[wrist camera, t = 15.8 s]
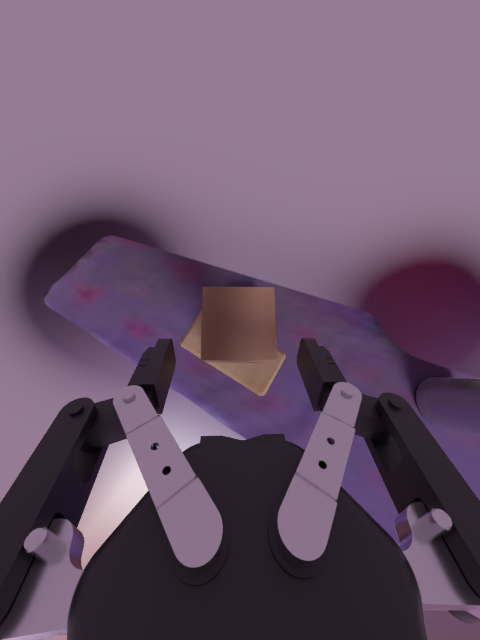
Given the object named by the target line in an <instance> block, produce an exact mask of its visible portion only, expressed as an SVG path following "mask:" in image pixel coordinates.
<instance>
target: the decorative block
mask: <svg viewBox="0 0 480 640" xmlns="http://www.w3.org/2000/svg"><path fill="white" fill-rule="evenodd" d="M201 328H202V310H201V311H200V313H199V314H198V316H197V317H196V319H195V320H194V322H193V323H192V325H191V326H190V328H189V329H188V331H187V332H186V333H185V335H184V336H183V338H182V339H181V341H180V344H181V346H182V347H183V348H185V349H186V350H188V351H190V352H191V353H193V354H194V355H196V356H197V357H199V358H201ZM285 358H286V356H285V353H284V352H283V351H281V350H280V349H278V348H277V359H276V360H271V361H266V362H261V363H216V364H212V363H209V362H207V363H208V364H210V365H212V366H213V367H215V368H216V369H218V370H220V371H221V372H223V373H224V374H226V375H227V376H229V377H231V378H232V379H234V380H235V381H237V382H238V383H240V384H242V385H243V386H245V387H246V388H248V389H249V390H251V391H253V392H254V393H256V394H257V395H259V396H263V395H265V394H266V392H267V390H268V388H269V386H270V385H271V383H272V381H273V379H274V377H275V376H276V374H277V372H278V370H279V368H280V367H281V365H282V363H283V361H284V359H285ZM205 362H206V361H205Z"/></svg>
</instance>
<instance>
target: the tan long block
mask: <svg viewBox="0 0 480 640" xmlns="http://www.w3.org/2000/svg"><path fill="white" fill-rule="evenodd" d="M276 359H277V339H276V317H275V295H274V287H203V292H202V328H201V360H203V361H206V362H209V363H212V364H216V363H261V362H266V361H271V360H276Z"/></svg>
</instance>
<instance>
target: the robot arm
mask: <svg viewBox="0 0 480 640" xmlns="http://www.w3.org/2000/svg"><path fill="white" fill-rule="evenodd" d="M175 363H176V359H175V352H174V347H173V341H172V339H158V341H157V343H156V346H155V347H149V348H148V349H147V350H146V351H145V352H144V353H143V355H142V357H141V359H140V361H139V363H138V366H137V367H136V369H135V372H134V374H133V375H132V377H131V379H130V382H129V384H128V386H127V387H125V388H123V389H121V390H120V391H118V392H117V393H116V395H115V396H114V398H112V399H109V400H105V401H101V402H97V403H94V402H93V401H92V400H91V399H90V398H79V399H76V400H73V401H72V402H70V403H68V404H67V405H65V406H64V407H63V408H62V409H61V411H60V412H59V414H58V415H57V417H56V418H55V420H54V421H53V423H52V424H51V426H50V428H49V429H48V431H47V432H46V434H45V435H44V437H43V438H42V440H41V441H40V443H39V444H38V446H37V447H36V449H35V451H34V452H33V454H32V455H31V457H30V458H29V460H28V461H27V463H26V464H25V466H24V468H23V469H22V471H21V472H20V474H19V475H18V477H17V478H16V480H15V482H14V483H13V485H12V486H11V488H10V489H9V491H8V492H7V494H6V495H5V497H4V498H3V500H2V501H1V503H0V640H38V639H44V638H50V637H56V636H62V635H67V640H427V636H426V630H425V625H424V617H423V609H424V610H448V611H449V612H450V613H451V614H452V615H453V616H455V617H456V618H457V619H459V620H460V621H463V622H465V623H469V624H473V623H479V622H480V501H479V499H478V498H477V497H476V495H475V494H474V493H473V491H472V490H471V488H470V487H469V486H468V484H467V483H466V482H465V480H464V479H463V477H462V476H461V475H460V473H459V472H458V471H457V469H456V468H455V466H454V465H453V464H452V462H451V461H450V460H449V458H448V457H447V455H446V454H445V453H444V451H443V450H442V449H441V447H440V446H439V445H438V443H437V442H436V440H435V439H434V438H433V436H432V435H431V434H430V432H429V431H428V429H427V428H426V427H425V425H424V424H423V423H422V421H421V420H420V418H419V417H418V416H417V414H416V413H415V412H414V410H413V409H412V407H411V406H410V405H409V403H408V402H407V401H406V400H404V399H403V398H402V397H400V396H398V395H396V394H393V393H383V394H381V395H380V397H379V398H375V397H371V396H367V395H363V394H361V393H360V391H359V390H358V389H357V388H356V387H355V386H353V385H351V384H349V383H347V382H346V380H345V378H344V376H343V375H342V373H341V371H340V370H339V368H338V366H337V364H336V363H335V361H334V359H333V357H332V356H331V354H330V352H329V351H328V350H326V349H325V348H324V347H323V346H318V344H317V342H316V340H315V339H314V338H302V339H301V341H300V346H299V350H298V355H297V366H298V369H299V371H300V374H301V377H302V380H303V382H304V385H305V388H306V390H307V393H308V396H309V399H310V401H311V404H312V407H313V409H314V411H321V412H322V413H321V415H320V417H319V420H318V422H317V424H316V426H315V429H314V431H313V433H312V436H311V438H310V440H309V443H308V445H307V447H306V450H303V449H302V448H301V447H299V446H297V445H295V444H293V443H291V442H288V441H285V437H284V434H264V435H260V436H257V437H254V438H251V439H247V440H238V439H233V438H229V437H225V436H201V440H200V443H199V444H196V445H194V446H191V447H190V448H188V449H186V450H185V451H184V452H182V451H181V450H180V448H179V446H178V444H177V443H176V441H175V439H174V437H173V436H172V434H171V433H170V431H169V429H168V427H167V426H166V424H165V422H164V420H163V419H162V417H161V416H160V415H158V414H162V412H163V408H164V405H165V401H166V398H167V394H168V390H169V387H170V383H171V380H172V376H173V373H174V369H175ZM416 402H417V406H418V408H419V410H420V412H421V413H422V415H423V416H424V417H425V418H426V419H427V420H428V421H430V422H431V423H433V424H436V425H439V426H443V427H447V428H450V429H454V430H457V431H461V432H465V433H469V434H472V435H476V436H480V379H476V378H453V377H429V378H426V379H425V380H423V381H422V382H421V383H420V384H419V386H418V388H417V391H416ZM354 434H355V435H358V436H362V437H364V439H365V442H366V444H367V446H368V448H369V450H370V453H371V455H372V457H373V459H374V461H375V463H376V466H377V468H378V470H379V472H380V474H381V476H382V479H383V481H384V483H385V485H386V487H387V490H388V492H389V494H390V496H391V498H392V500H393V503H394V505H395V507H396V509H397V511H398V513H399V515H398V516H397V517H396V520H395V528H396V532H397V535H398V538H399V546H398V544H397V543H396V542H395V541H394V540H393V538H392V537H391V536H390V535H389V534H388V533H387V532H386V531H385V530H384V529H383V528H382V527H381V526H380V525H379V524H378V523H377V522H376V521H375V520H374V519H373V518H372V517H371V516H370V515H369V514H368V513H367V512H366V511H365V510H364V509H363V508H362V507H361V506H360V505H359V504H358V503H357V502H356V501H355V500H354V499H353V498H352V497H351V496H350V495H349V494H348V493H347V492H346V491H345V490H344V489H343V488H342V487H341V482H342V479H343V475H344V471H345V467H346V464H347V460H348V456H349V452H350V448H351V445H352V441H353V437H354ZM124 439H128V441H129V444H130V446H131V449H132V451H133V453H134V456H135V458H136V461H137V463H138V466H139V468H140V471H141V473H142V475H143V478H144V480H145V483H146V485H147V488H148V490H149V491H148V492H147V493H146V494H145V495H144V497H143V498H142V499H141V500H140V501H139V502H138V504H137V505H136V506H135V507H134V508H133V509H132V511H131V512H130V513H129V514H128V515H127V516H126V517H125V519H124V520H123V521H122V522H121V523H120V524H119V526H118V527H117V528H116V529H115V530H114V532H113V533H112V534H111V535H110V536H109V537H108V538H107V540H106V541H105V542H104V543H103V544H102V546H101V547H100V548H99V549H98V550H97V552H96V553H95V554H94V555H93V557H92V558H91V559H90V561H89V563H88V564H87V566H86V567H85V569H84V570H83V569H82V566H81V557H82V552H83V547H84V537H83V534H82V533H81V532H80V531H79V530H78V529H77V526H78V524H79V521H80V518H81V516H82V513H83V511H84V508H85V505H86V503H87V500H88V498H89V495H90V493H91V490H92V487H93V484H94V482H95V479H96V477H97V474H98V471H99V469H100V466H101V464H102V461H103V459H104V456H105V453H106V451H107V448H108V446H109V444H112V443H115V442H118V441H121V440H124Z"/></svg>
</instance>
